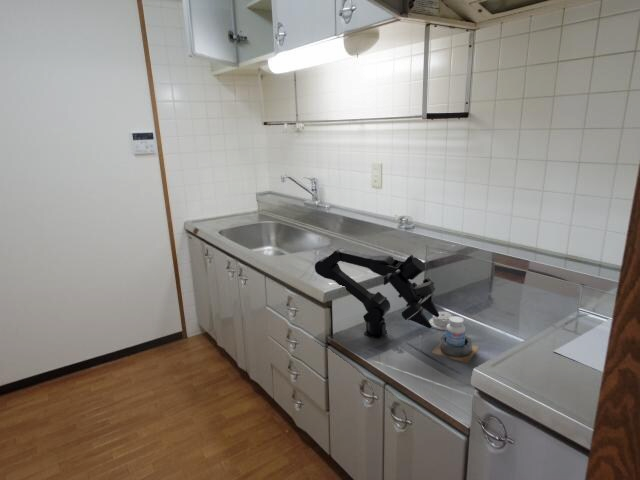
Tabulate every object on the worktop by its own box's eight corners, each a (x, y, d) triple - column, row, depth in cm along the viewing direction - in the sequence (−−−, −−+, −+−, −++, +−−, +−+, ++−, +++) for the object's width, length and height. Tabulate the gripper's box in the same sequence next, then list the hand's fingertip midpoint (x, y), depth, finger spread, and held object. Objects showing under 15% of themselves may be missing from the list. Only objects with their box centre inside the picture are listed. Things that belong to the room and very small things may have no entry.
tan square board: (431, 353, 135) (431, 352, 135) (445, 338, 144) (445, 337, 144) (467, 364, 128) (467, 363, 128) (479, 348, 137) (479, 347, 137)
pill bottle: (447, 354, 133) (449, 323, 130) (443, 345, 139) (444, 315, 136) (466, 354, 133) (468, 323, 130) (461, 344, 139) (463, 315, 136)
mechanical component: (460, 323, 155) (435, 317, 161) (460, 313, 154) (436, 307, 160) (450, 334, 148) (424, 327, 154) (450, 323, 147) (425, 316, 153)
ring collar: (435, 351, 135) (435, 342, 134) (447, 339, 143) (447, 330, 142) (465, 360, 129) (465, 351, 128) (475, 347, 137) (475, 338, 136)
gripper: (411, 282, 128) (445, 321, 125) (428, 265, 143) (458, 299, 141) (388, 301, 134) (420, 338, 131) (406, 282, 149) (435, 315, 147)
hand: (434, 321), depth 137 cm, fingers open, 9 cm apart
